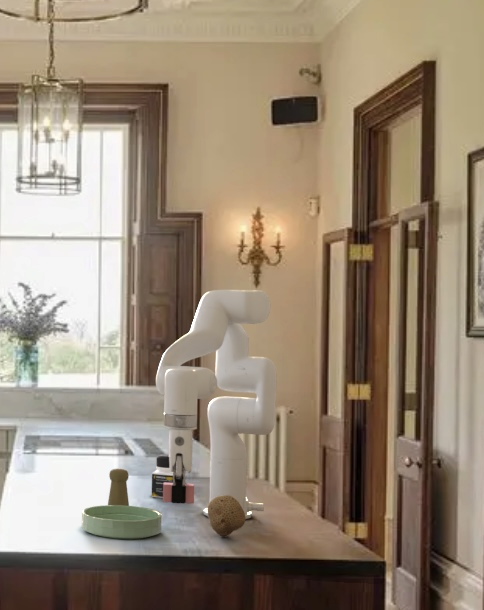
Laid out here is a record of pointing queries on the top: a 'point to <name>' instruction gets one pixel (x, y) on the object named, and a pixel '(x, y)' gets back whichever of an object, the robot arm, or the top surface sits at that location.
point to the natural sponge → (225, 515)
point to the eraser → (168, 492)
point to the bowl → (121, 521)
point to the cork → (118, 487)
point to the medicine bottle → (161, 475)
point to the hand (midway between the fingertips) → (178, 500)
